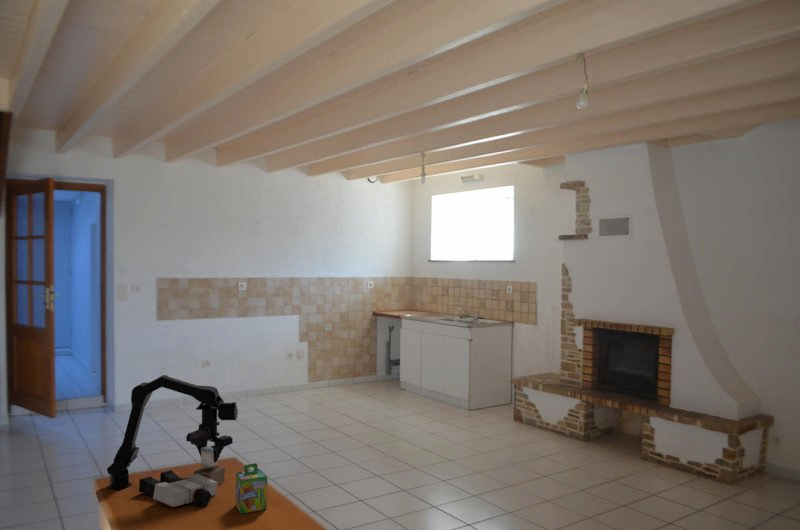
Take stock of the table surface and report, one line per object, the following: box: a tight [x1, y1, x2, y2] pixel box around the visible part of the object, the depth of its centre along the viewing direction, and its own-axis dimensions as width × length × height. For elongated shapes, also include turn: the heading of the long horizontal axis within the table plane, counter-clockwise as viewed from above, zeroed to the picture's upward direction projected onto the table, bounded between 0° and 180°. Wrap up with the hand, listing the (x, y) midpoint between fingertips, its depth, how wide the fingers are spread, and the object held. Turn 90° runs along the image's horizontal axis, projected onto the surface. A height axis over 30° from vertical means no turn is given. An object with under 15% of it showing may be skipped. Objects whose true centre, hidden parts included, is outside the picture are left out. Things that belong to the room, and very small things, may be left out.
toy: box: [138, 469, 218, 508], centre depth 211 cm, size 19×7×30 cm
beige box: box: [193, 464, 226, 486], centre depth 224 cm, size 8×8×6 cm
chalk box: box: [235, 462, 268, 515], centre depth 202 cm, size 9×9×15 cm
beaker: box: [200, 445, 219, 467], centre depth 224 cm, size 6×6×6 cm
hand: (209, 461), depth 224 cm, fingers closed on beaker, 6 cm apart
